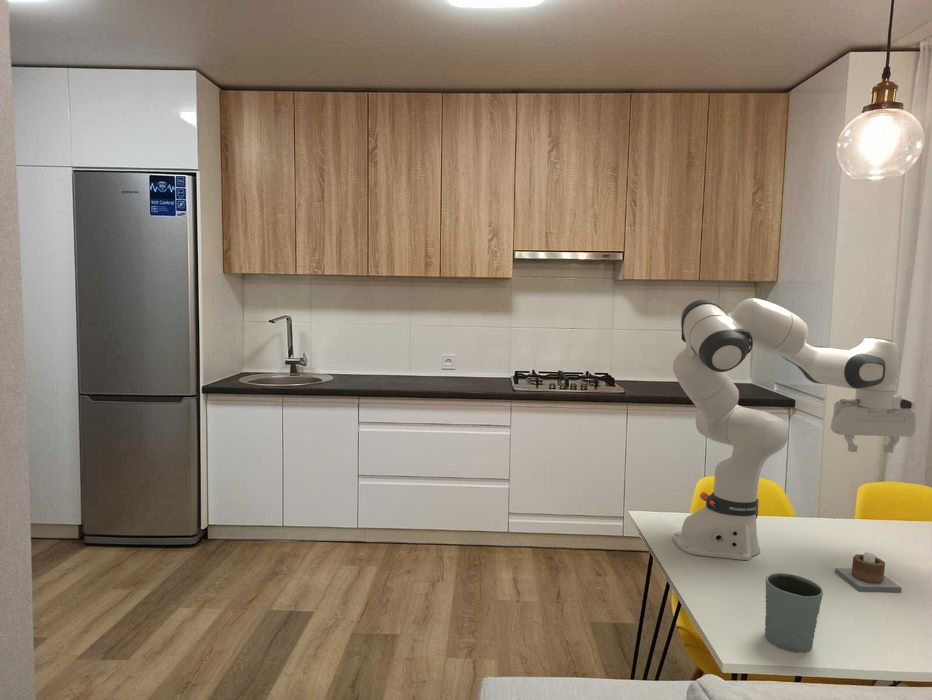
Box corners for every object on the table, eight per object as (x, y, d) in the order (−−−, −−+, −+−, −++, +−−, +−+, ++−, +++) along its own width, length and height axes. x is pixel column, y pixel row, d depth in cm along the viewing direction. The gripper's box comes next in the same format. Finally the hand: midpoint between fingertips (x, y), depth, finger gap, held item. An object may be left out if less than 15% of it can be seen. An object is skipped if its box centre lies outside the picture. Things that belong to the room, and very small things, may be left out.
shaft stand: (859, 591, 150) (861, 562, 150) (834, 572, 160) (837, 545, 160) (901, 592, 150) (904, 563, 150) (874, 573, 160) (877, 546, 160)
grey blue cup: (753, 626, 133) (757, 571, 132) (802, 628, 132) (807, 573, 131) (775, 654, 123) (780, 594, 122) (828, 656, 122) (833, 597, 121)
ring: (862, 582, 152) (864, 564, 152) (847, 571, 158) (848, 554, 158) (888, 583, 152) (890, 565, 152) (872, 572, 158) (873, 554, 158)
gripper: (842, 400, 162) (837, 454, 163) (922, 403, 162) (917, 456, 163) (828, 396, 168) (824, 447, 170) (905, 398, 168) (900, 450, 170)
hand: (870, 452), depth 166 cm, fingers open, 8 cm apart
